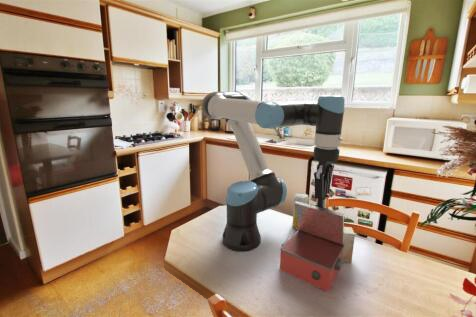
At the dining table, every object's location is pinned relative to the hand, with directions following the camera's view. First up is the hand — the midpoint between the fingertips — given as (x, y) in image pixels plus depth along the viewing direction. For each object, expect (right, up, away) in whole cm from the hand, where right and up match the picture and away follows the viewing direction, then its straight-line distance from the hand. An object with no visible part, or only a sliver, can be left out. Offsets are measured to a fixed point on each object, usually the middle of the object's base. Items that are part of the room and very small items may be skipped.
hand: (320, 215), depth 83 cm
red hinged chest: (-3, -18, +1) cm, 18 cm away
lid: (-1, -3, 0) cm, 3 cm away
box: (+10, -17, +6) cm, 20 cm away
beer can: (0, -11, +26) cm, 28 cm away
